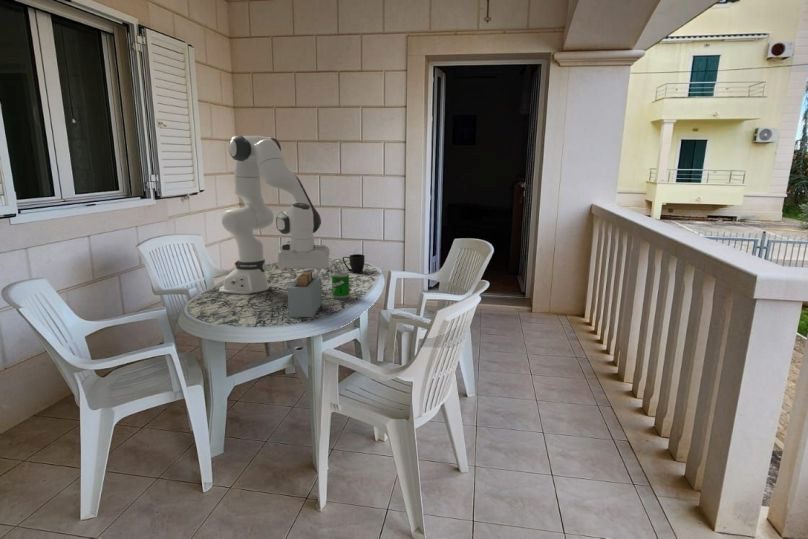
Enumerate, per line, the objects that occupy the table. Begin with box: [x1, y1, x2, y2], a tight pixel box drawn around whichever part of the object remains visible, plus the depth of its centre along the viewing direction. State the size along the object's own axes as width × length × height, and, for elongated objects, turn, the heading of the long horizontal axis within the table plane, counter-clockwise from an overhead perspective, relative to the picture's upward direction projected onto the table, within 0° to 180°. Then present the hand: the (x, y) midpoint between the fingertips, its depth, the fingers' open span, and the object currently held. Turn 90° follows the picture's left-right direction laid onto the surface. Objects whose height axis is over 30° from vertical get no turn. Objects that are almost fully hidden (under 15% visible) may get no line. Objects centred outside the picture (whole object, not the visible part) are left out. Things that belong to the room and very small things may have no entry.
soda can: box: [331, 269, 350, 300], centre depth 201 cm, size 8×8×12 cm
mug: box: [342, 253, 366, 274], centre depth 248 cm, size 8×12×10 cm
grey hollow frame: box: [287, 276, 323, 318], centre depth 183 cm, size 9×18×12 cm, turn 178°
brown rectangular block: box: [296, 271, 313, 287], centre depth 182 cm, size 12×3×8 cm, turn 178°
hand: (304, 278), depth 181 cm, fingers open, 8 cm apart
